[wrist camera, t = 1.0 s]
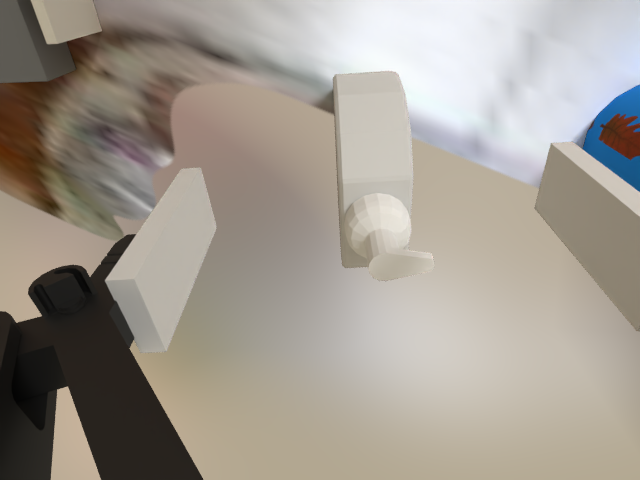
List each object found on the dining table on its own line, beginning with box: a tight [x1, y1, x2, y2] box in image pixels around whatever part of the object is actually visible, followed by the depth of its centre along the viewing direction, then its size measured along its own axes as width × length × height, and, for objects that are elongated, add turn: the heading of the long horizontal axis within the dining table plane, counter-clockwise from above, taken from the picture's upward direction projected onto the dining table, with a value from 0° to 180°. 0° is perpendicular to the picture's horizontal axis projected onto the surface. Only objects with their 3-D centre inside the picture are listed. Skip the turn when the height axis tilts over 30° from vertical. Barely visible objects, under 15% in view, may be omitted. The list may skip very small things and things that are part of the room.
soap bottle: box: [333, 71, 435, 281], centre depth 32 cm, size 16×5×20 cm, turn 4°
